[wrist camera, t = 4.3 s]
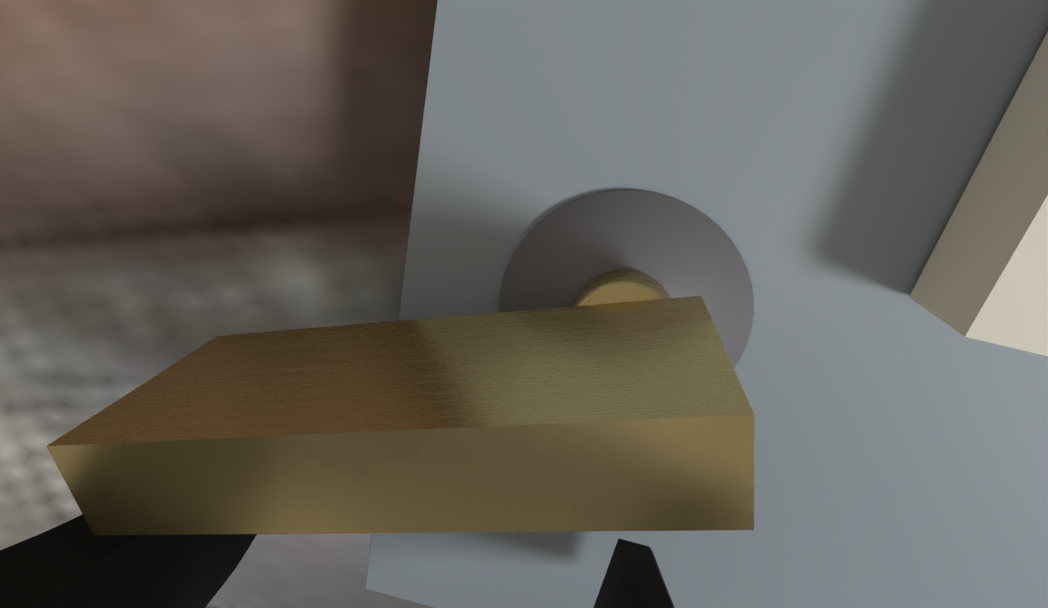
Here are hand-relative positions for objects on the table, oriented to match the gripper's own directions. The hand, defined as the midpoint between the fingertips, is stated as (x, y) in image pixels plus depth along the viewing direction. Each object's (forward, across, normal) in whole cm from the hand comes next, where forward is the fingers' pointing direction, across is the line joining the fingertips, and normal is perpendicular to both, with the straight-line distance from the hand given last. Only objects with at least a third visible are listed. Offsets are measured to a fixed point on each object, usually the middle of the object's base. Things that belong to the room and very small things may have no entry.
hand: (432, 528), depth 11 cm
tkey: (+1, 0, -4) cm, 4 cm away
